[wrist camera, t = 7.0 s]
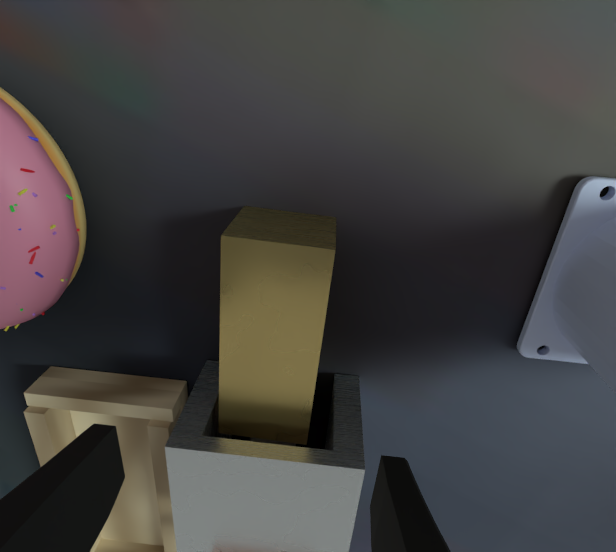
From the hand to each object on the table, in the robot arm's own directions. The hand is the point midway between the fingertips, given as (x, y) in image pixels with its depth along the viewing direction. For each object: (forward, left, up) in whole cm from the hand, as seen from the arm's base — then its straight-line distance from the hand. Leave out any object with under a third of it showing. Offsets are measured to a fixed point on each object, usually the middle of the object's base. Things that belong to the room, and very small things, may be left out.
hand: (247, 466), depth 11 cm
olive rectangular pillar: (0, 0, -8) cm, 9 cm away
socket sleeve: (0, +7, -8) cm, 11 cm away
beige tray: (+8, +12, -8) cm, 17 cm away
